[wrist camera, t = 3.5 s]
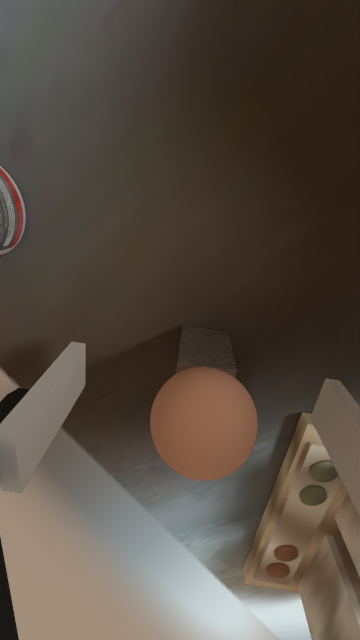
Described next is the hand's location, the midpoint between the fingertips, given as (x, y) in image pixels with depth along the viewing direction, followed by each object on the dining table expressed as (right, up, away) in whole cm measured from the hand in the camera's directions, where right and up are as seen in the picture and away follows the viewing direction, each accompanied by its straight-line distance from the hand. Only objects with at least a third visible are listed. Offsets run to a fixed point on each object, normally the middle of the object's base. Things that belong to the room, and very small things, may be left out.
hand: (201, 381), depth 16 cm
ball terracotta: (0, -1, -3) cm, 3 cm away
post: (0, +2, +3) cm, 4 cm away
